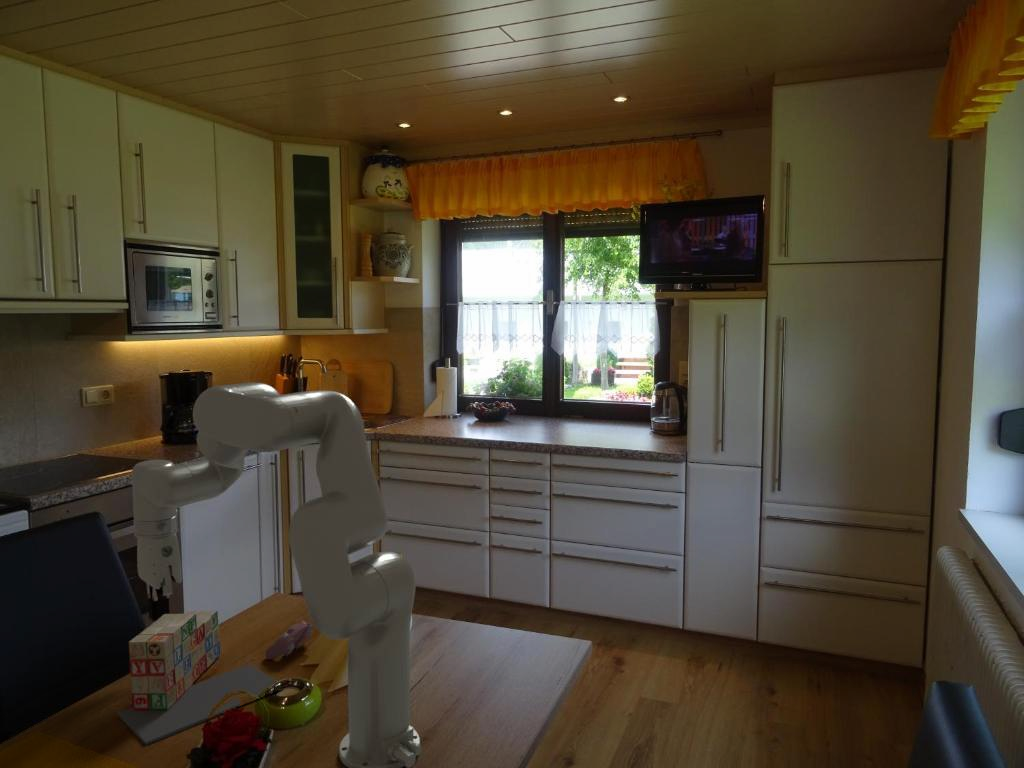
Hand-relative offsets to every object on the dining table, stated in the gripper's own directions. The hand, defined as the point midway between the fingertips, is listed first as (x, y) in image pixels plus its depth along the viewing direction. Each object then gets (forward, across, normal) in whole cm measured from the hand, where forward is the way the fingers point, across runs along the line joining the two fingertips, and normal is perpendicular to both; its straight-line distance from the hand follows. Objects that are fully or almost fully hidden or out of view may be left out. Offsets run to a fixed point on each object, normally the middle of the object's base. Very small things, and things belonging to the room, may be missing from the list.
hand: (159, 617), depth 140 cm
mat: (+10, -19, 0) cm, 21 cm away
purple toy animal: (+10, -12, -21) cm, 26 cm away
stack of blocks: (+10, -9, 0) cm, 13 cm away
